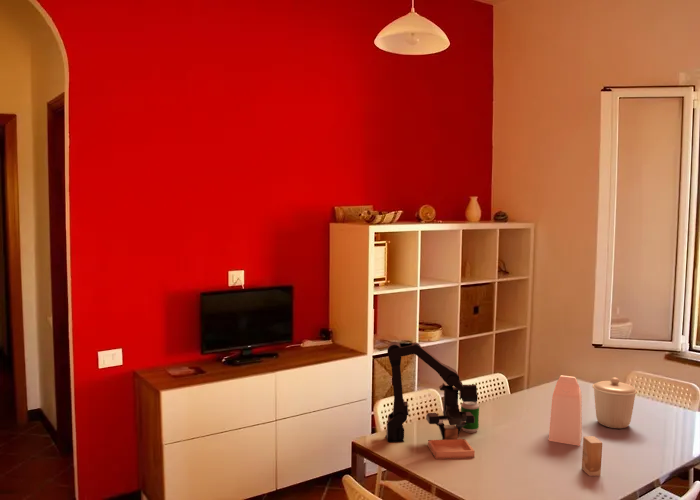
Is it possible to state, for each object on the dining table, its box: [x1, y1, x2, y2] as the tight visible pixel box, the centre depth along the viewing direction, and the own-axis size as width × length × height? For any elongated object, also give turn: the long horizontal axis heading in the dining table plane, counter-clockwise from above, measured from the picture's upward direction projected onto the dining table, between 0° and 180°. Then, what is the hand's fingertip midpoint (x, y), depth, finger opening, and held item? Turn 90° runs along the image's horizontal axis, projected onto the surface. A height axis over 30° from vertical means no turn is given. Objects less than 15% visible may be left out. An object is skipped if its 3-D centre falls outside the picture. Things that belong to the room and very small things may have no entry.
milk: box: [548, 375, 583, 447], centre depth 245 cm, size 12×12×26 cm
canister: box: [591, 376, 638, 429], centre depth 263 cm, size 18×18×21 cm
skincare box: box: [581, 435, 603, 477], centre depth 213 cm, size 6×4×12 cm
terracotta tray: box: [427, 438, 476, 460], centre depth 231 cm, size 15×12×2 cm
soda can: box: [460, 401, 480, 434], centre depth 254 cm, size 8×8×12 cm
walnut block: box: [441, 424, 459, 440], centre depth 241 cm, size 5×5×6 cm
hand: (449, 438), depth 241 cm, fingers closed on walnut block, 5 cm apart
